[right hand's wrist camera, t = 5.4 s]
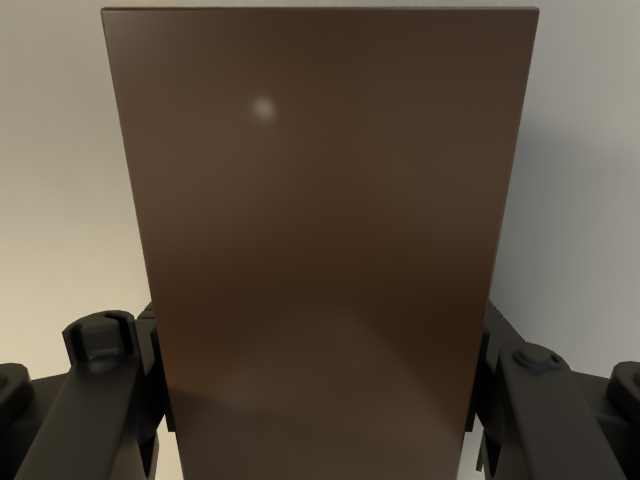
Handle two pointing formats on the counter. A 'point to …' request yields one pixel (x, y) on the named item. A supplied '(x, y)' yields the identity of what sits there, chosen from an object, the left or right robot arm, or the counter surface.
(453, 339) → the bar
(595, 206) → the counter surface
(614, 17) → the counter surface
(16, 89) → the counter surface
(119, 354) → the right robot arm
